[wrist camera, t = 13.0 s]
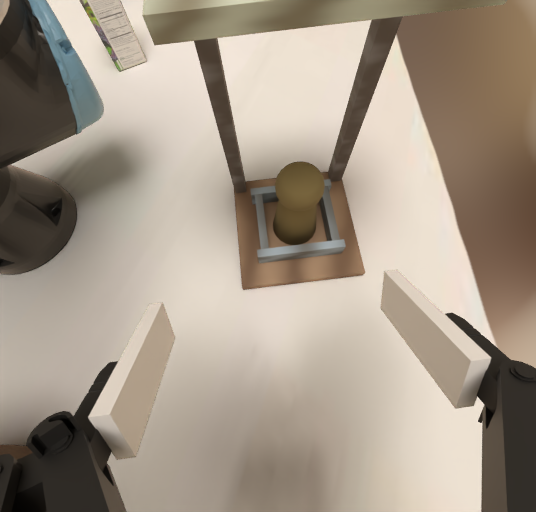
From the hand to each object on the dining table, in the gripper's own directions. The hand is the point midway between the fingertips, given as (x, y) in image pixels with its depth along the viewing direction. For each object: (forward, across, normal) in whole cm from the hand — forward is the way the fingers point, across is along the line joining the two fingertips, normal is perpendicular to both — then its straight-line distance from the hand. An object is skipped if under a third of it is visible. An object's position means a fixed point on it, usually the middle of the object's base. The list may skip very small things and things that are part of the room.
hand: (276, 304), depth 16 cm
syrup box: (+52, -21, +24) cm, 61 cm away
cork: (+22, +4, -3) cm, 22 cm away
